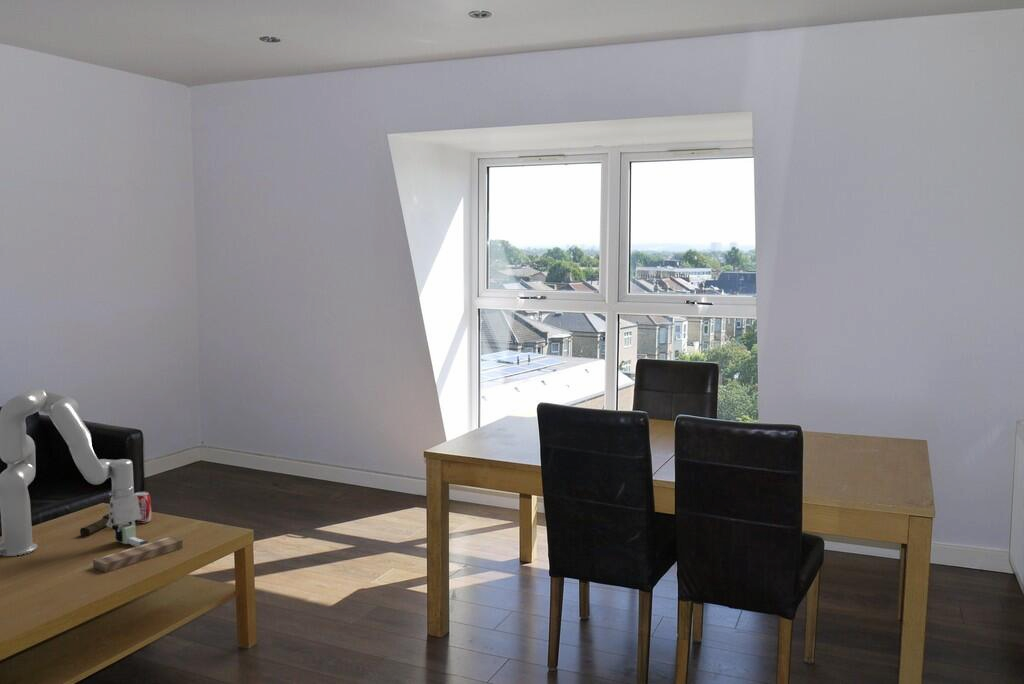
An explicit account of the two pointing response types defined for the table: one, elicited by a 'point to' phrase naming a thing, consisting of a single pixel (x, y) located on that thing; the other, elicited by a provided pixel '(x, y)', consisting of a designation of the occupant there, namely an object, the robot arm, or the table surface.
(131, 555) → the walnut plank
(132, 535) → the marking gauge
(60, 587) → the table surface
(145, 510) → the soda can
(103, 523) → the hand tool
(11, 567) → the table surface
